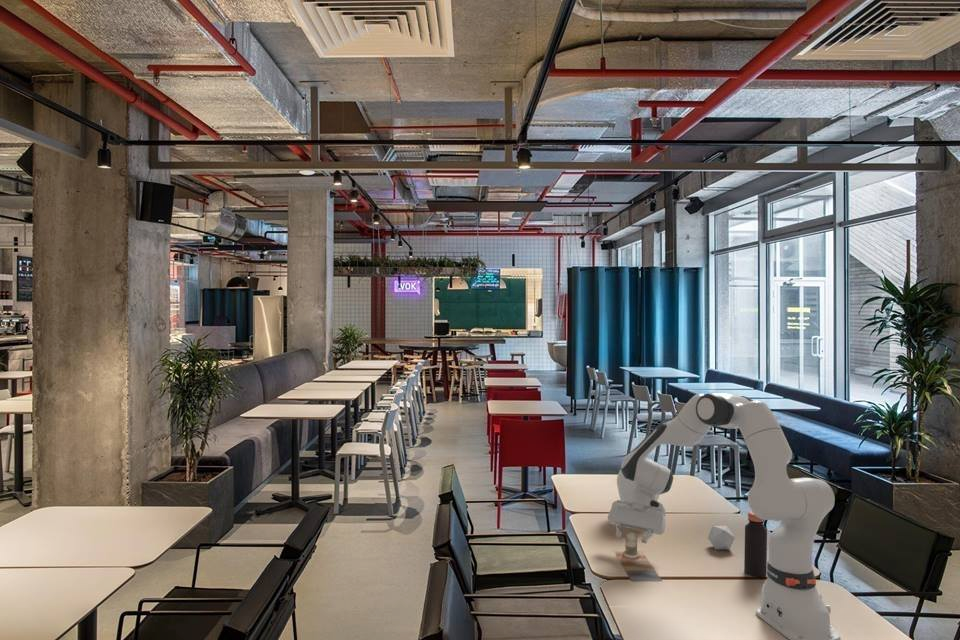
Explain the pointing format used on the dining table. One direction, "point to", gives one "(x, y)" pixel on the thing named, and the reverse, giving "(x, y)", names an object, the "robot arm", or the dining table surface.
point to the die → (721, 537)
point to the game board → (638, 568)
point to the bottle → (755, 546)
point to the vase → (626, 487)
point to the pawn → (631, 546)
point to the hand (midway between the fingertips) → (630, 539)
